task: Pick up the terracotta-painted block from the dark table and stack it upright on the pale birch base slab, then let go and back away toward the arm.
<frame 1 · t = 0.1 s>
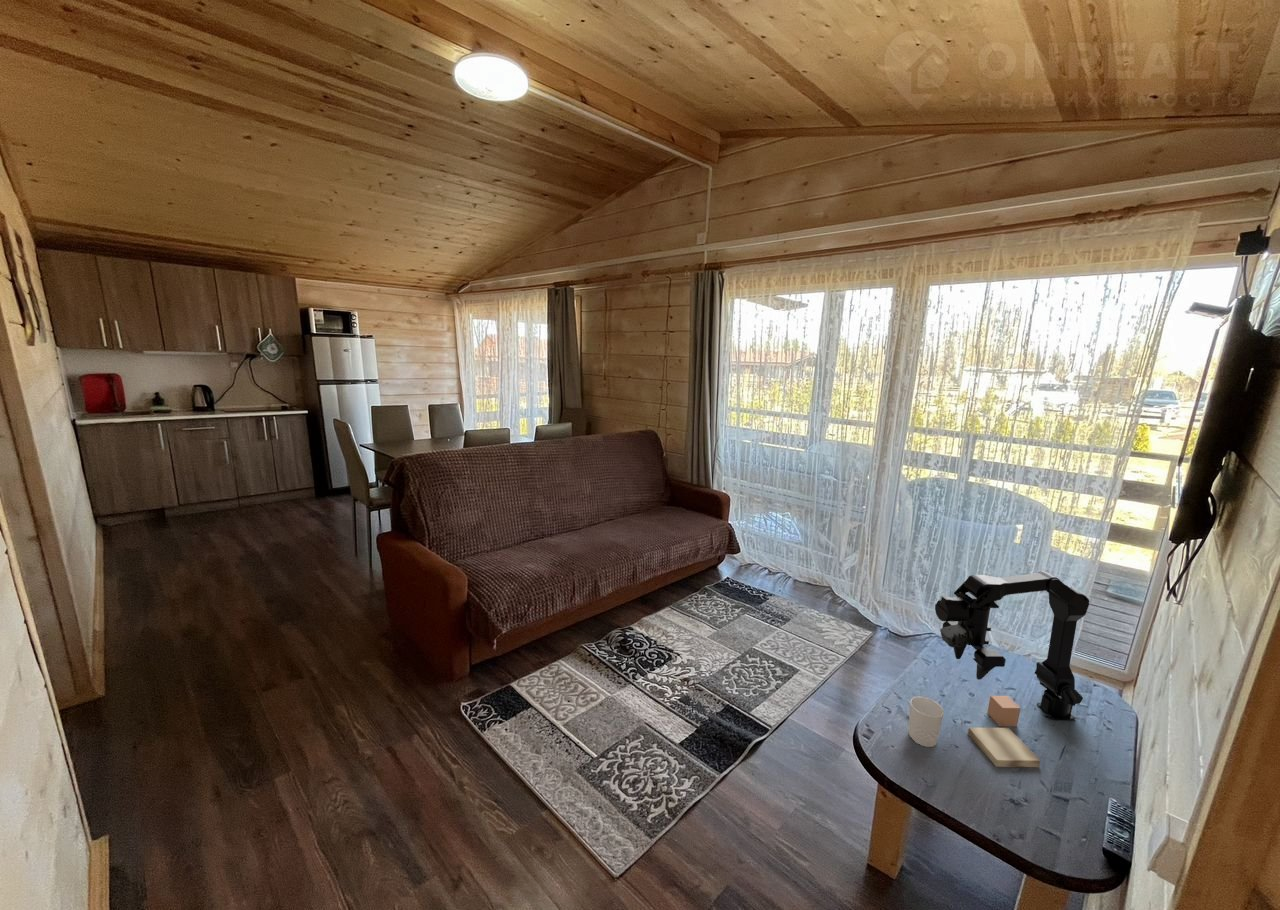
hand: (968, 668, 140), 15 cm above the table, fingers open, 9 cm apart
white cup: (922, 738, 133), on the table
base slab: (1001, 749, 129), on the table
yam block: (1001, 719, 140), on the table
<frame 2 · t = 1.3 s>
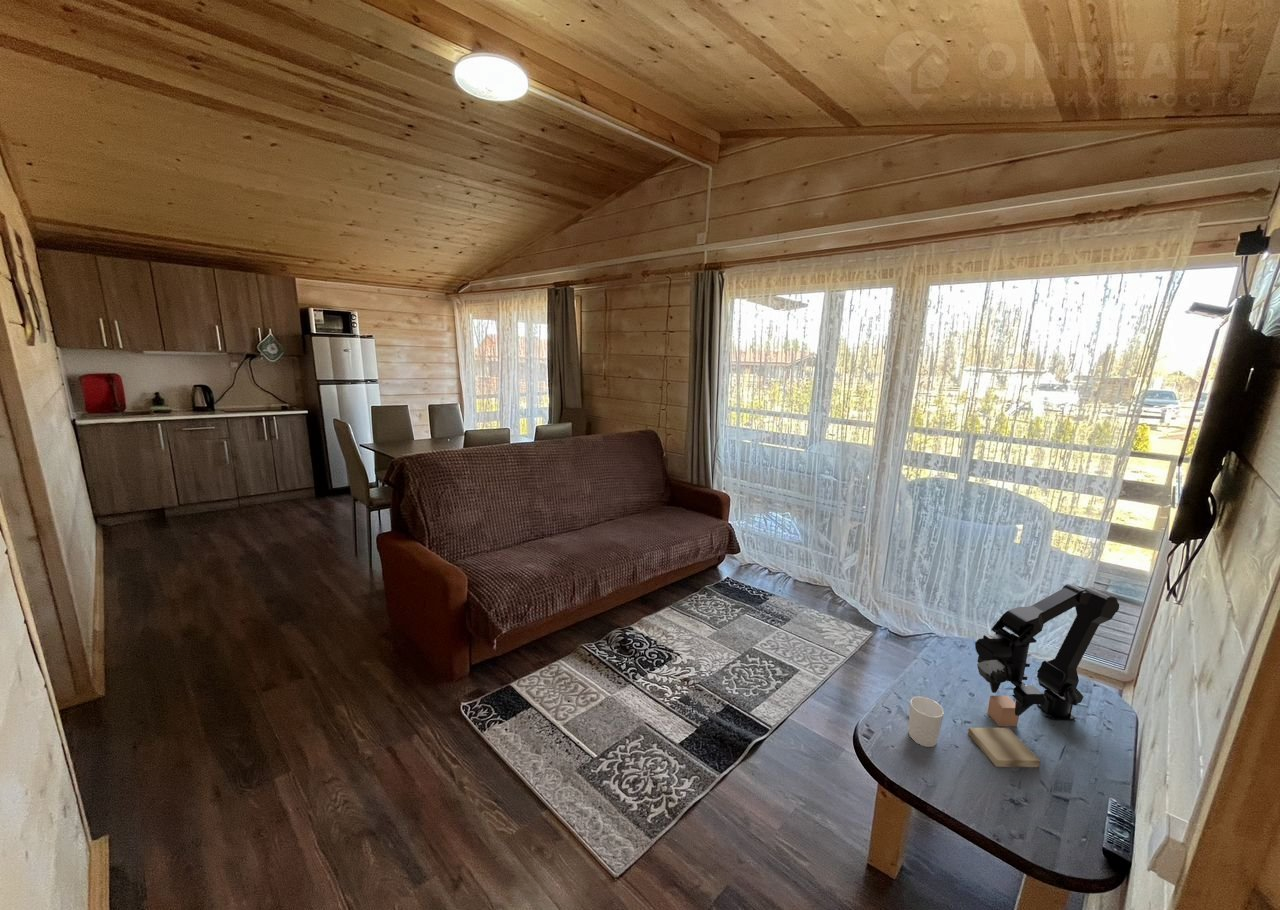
hand: (1005, 703, 139), 5 cm above the table, fingers open, 9 cm apart
nothing on the table moved.
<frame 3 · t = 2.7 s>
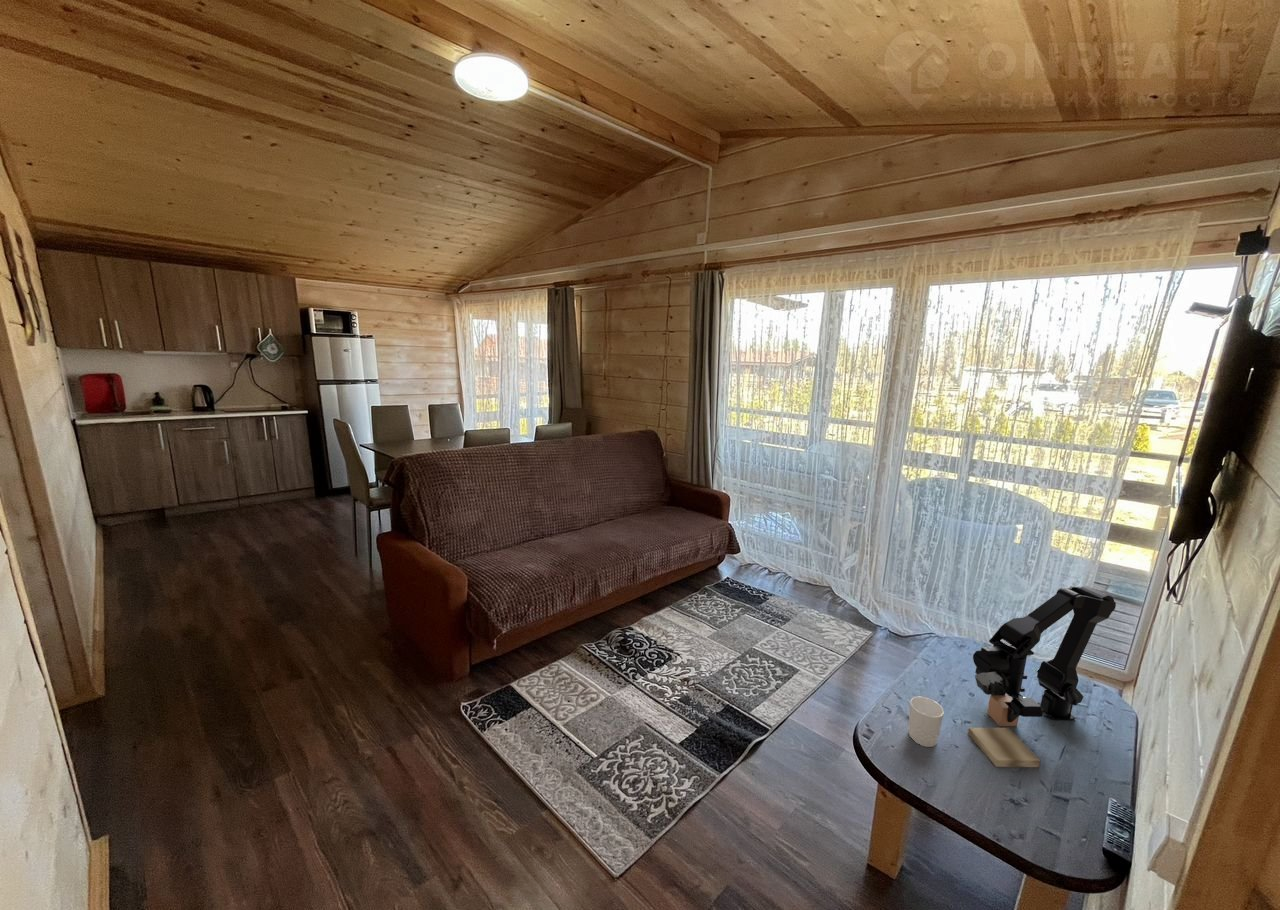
hand: (1002, 714, 140), 2 cm above the table, fingers closed on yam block, 5 cm apart
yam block: (1001, 719, 140), on the table, touching gripper
everything else where it was.
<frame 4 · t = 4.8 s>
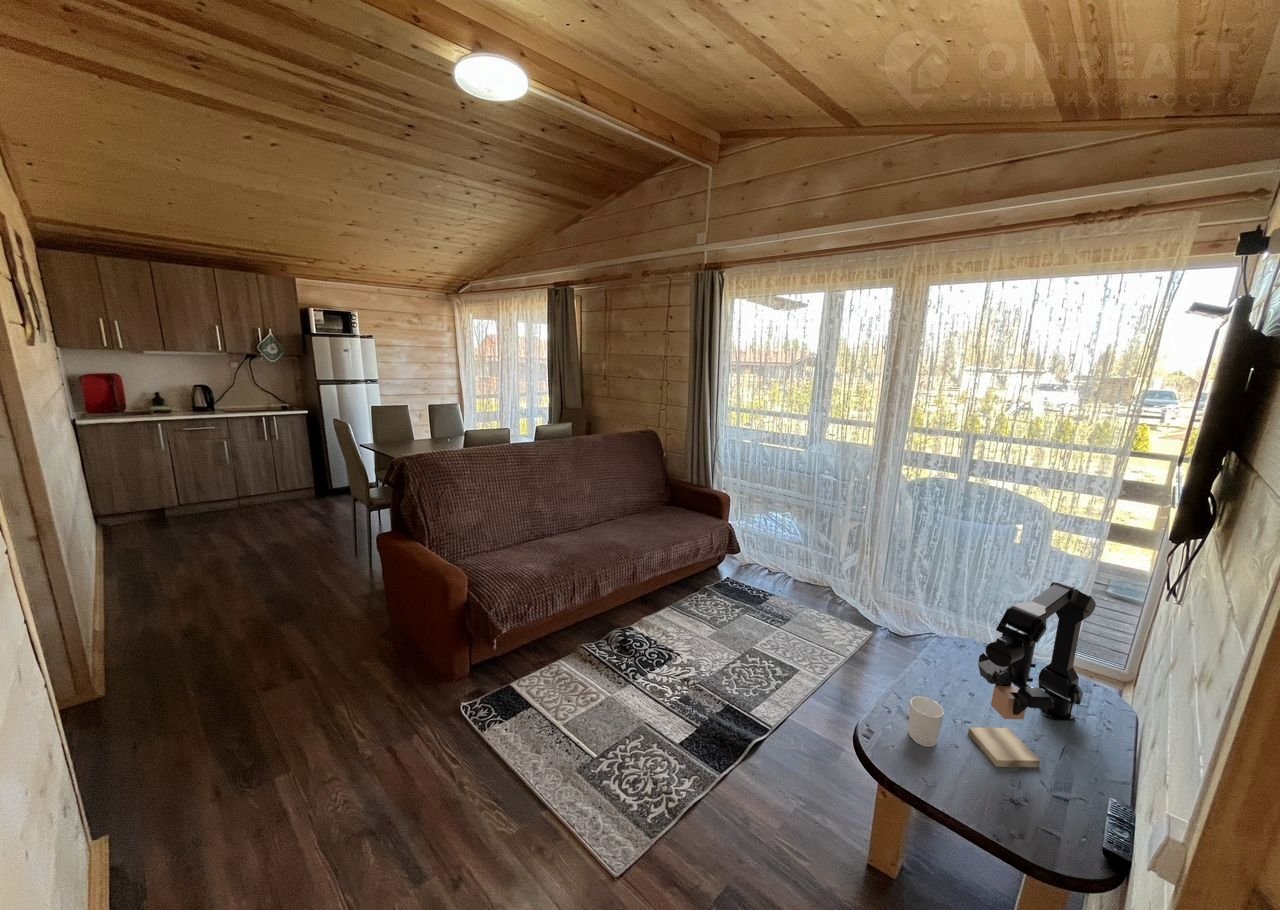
hand: (1008, 707, 127), 12 cm above the table, fingers closed on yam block, 5 cm apart
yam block: (1006, 712, 128), point 11 cm above the table, touching gripper
everything else where it was.
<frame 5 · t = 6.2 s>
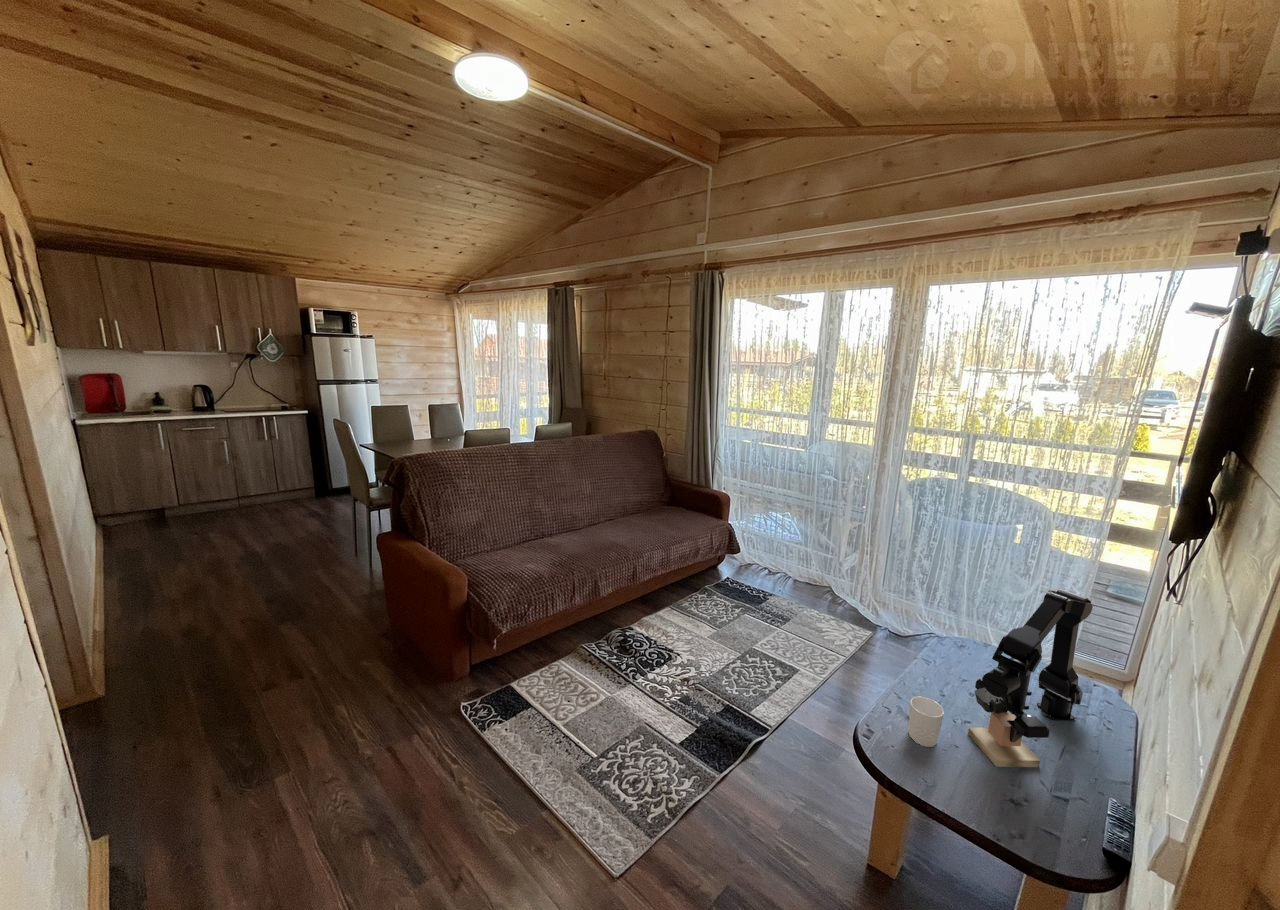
hand: (1004, 733, 128), 5 cm above the table, fingers closed on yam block, 5 cm apart
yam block: (1003, 738, 129), point 3 cm above the table, touching gripper
everything else where it was.
when the fingers open (4 cm above the table, at t = 7.1 s): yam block stays where it is, resting on base slab.
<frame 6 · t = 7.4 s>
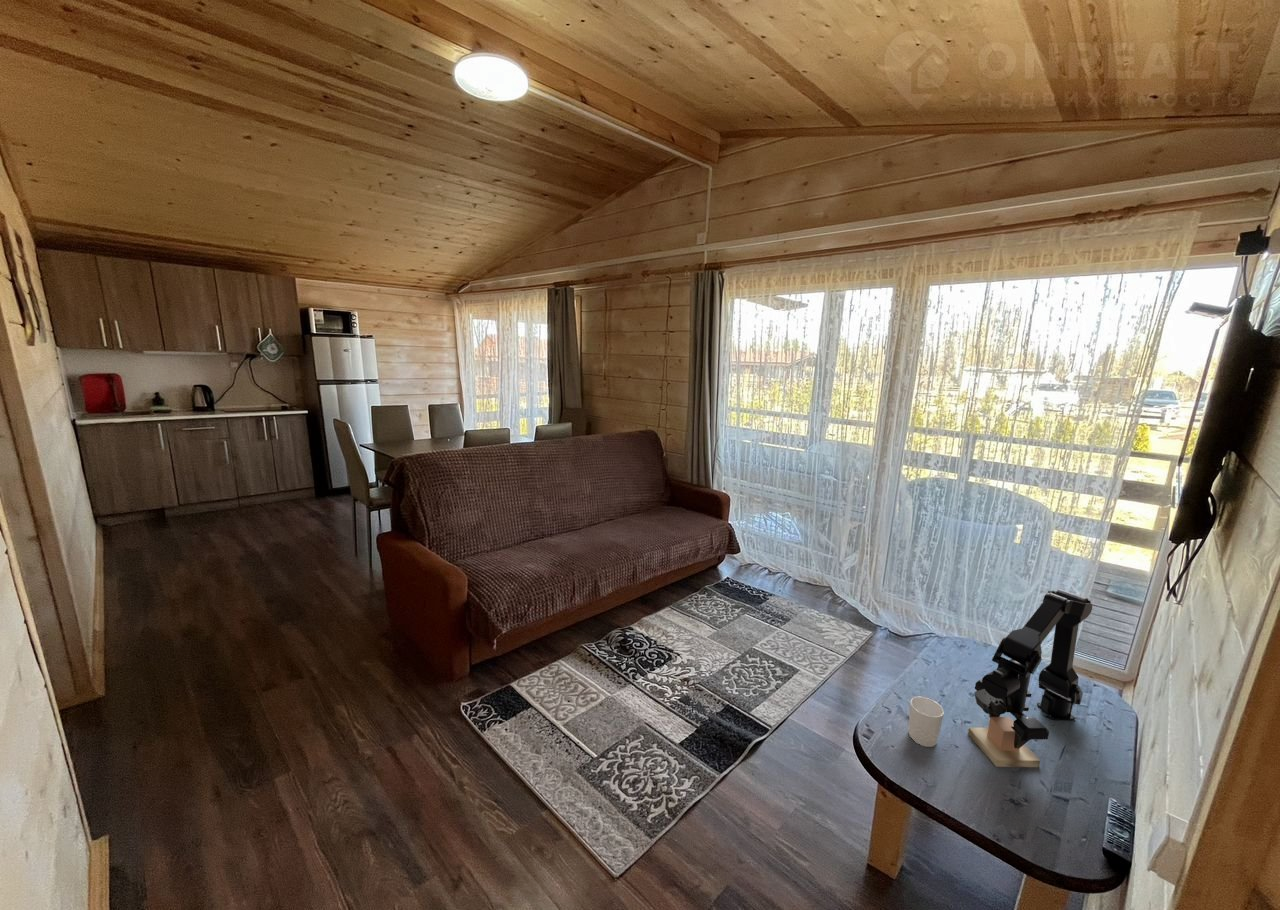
hand: (1004, 735, 128), 4 cm above the table, fingers open, 8 cm apart
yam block: (1002, 743, 129), point 2 cm above the table, touching base slab
everything else where it was.
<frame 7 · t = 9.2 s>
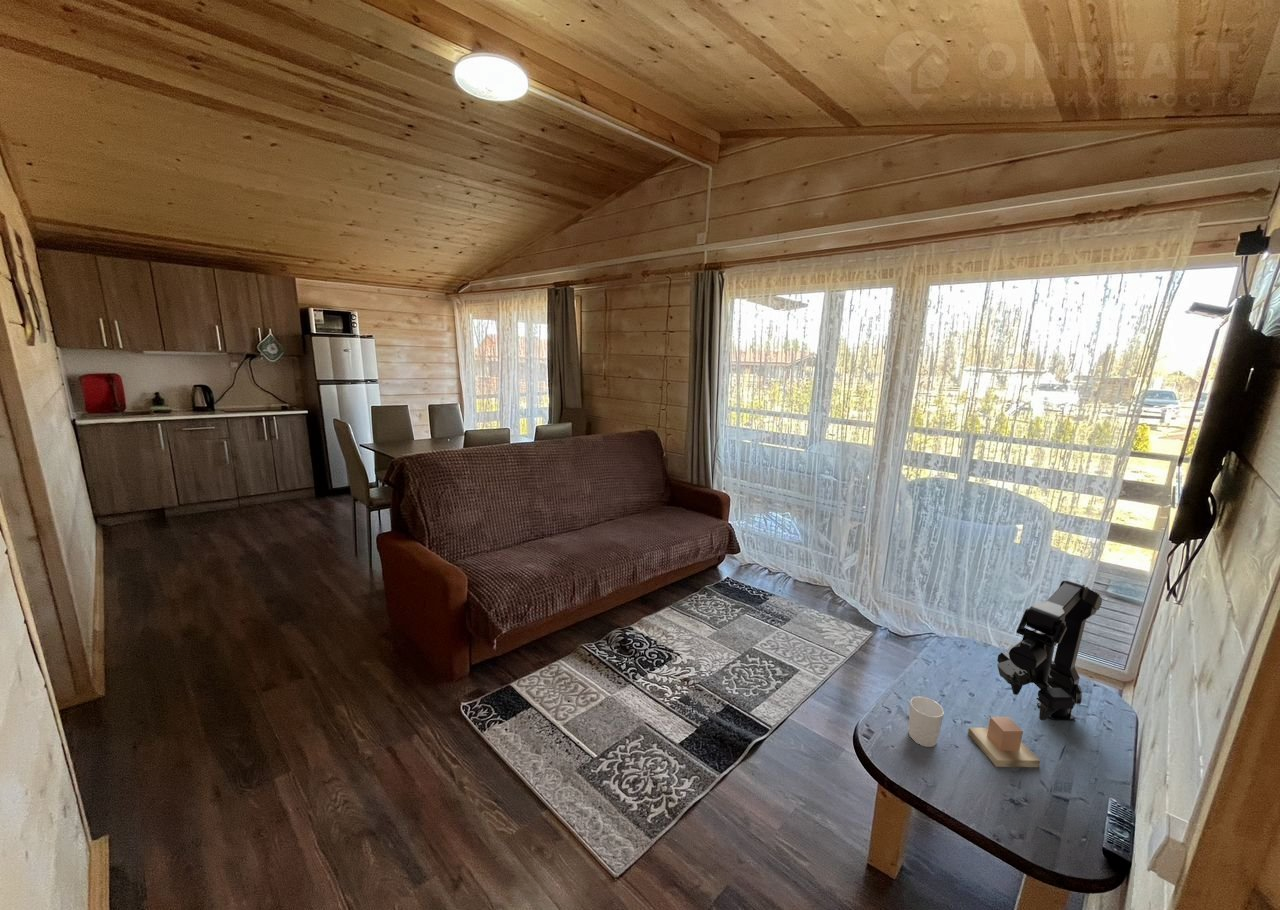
hand: (1028, 706, 128), 12 cm above the table, fingers open, 9 cm apart
nothing on the table moved.
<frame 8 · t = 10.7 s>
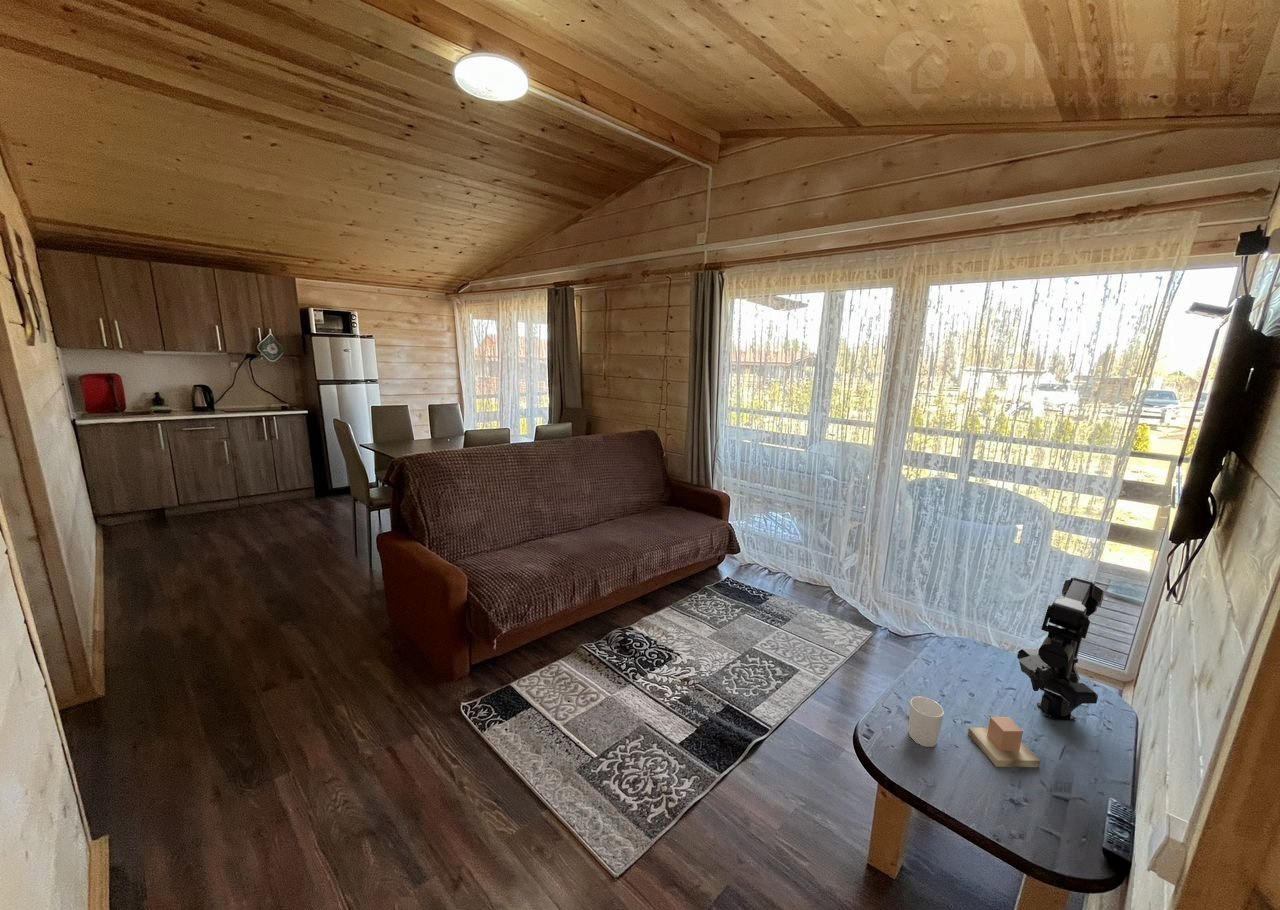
hand: (1049, 702, 128), 13 cm above the table, fingers open, 9 cm apart
nothing on the table moved.
at the end: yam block inside the target area on the base slab (0.0 cm from its centre), point 2.0 cm above the base slab's base; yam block tilted 0°; the gripper is holding nothing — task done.
